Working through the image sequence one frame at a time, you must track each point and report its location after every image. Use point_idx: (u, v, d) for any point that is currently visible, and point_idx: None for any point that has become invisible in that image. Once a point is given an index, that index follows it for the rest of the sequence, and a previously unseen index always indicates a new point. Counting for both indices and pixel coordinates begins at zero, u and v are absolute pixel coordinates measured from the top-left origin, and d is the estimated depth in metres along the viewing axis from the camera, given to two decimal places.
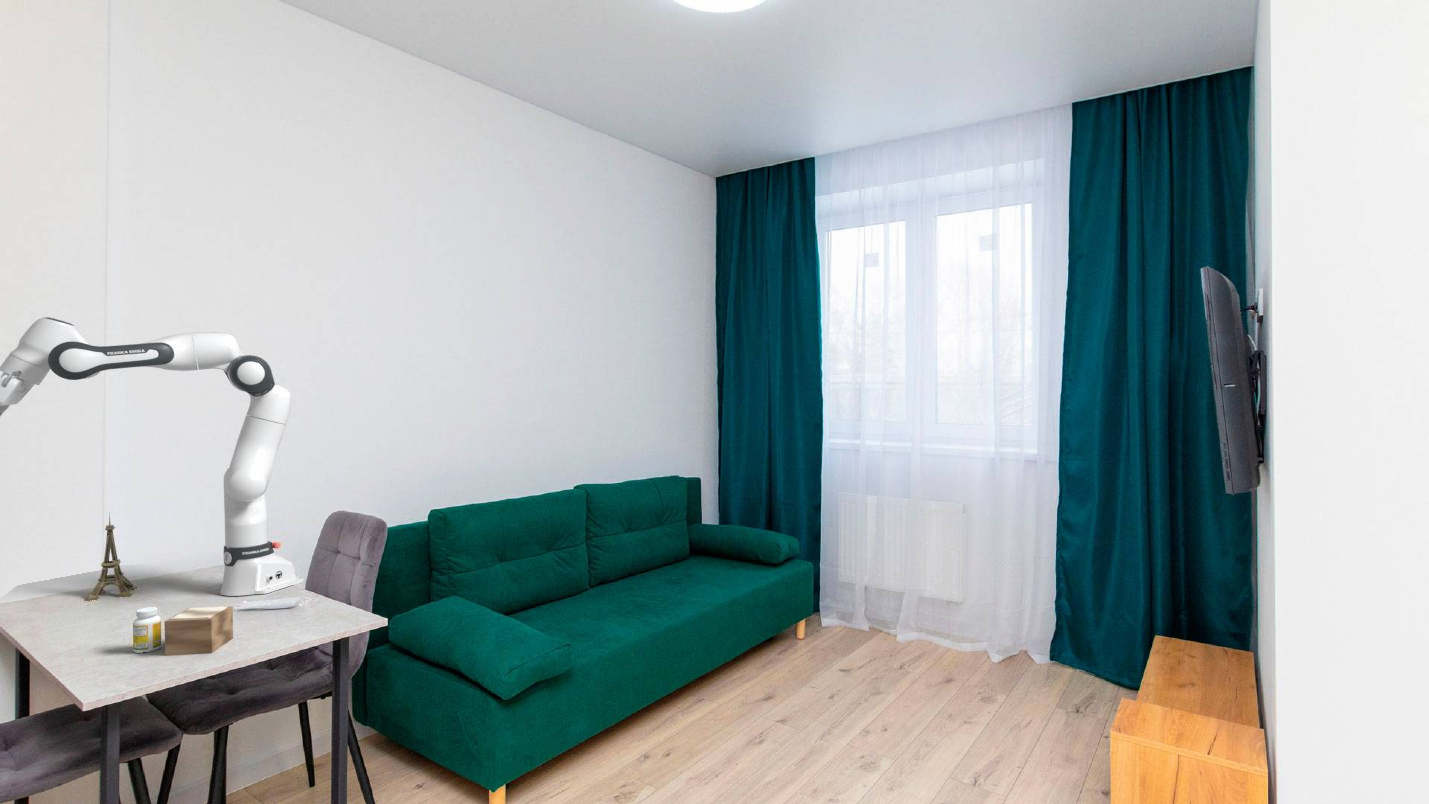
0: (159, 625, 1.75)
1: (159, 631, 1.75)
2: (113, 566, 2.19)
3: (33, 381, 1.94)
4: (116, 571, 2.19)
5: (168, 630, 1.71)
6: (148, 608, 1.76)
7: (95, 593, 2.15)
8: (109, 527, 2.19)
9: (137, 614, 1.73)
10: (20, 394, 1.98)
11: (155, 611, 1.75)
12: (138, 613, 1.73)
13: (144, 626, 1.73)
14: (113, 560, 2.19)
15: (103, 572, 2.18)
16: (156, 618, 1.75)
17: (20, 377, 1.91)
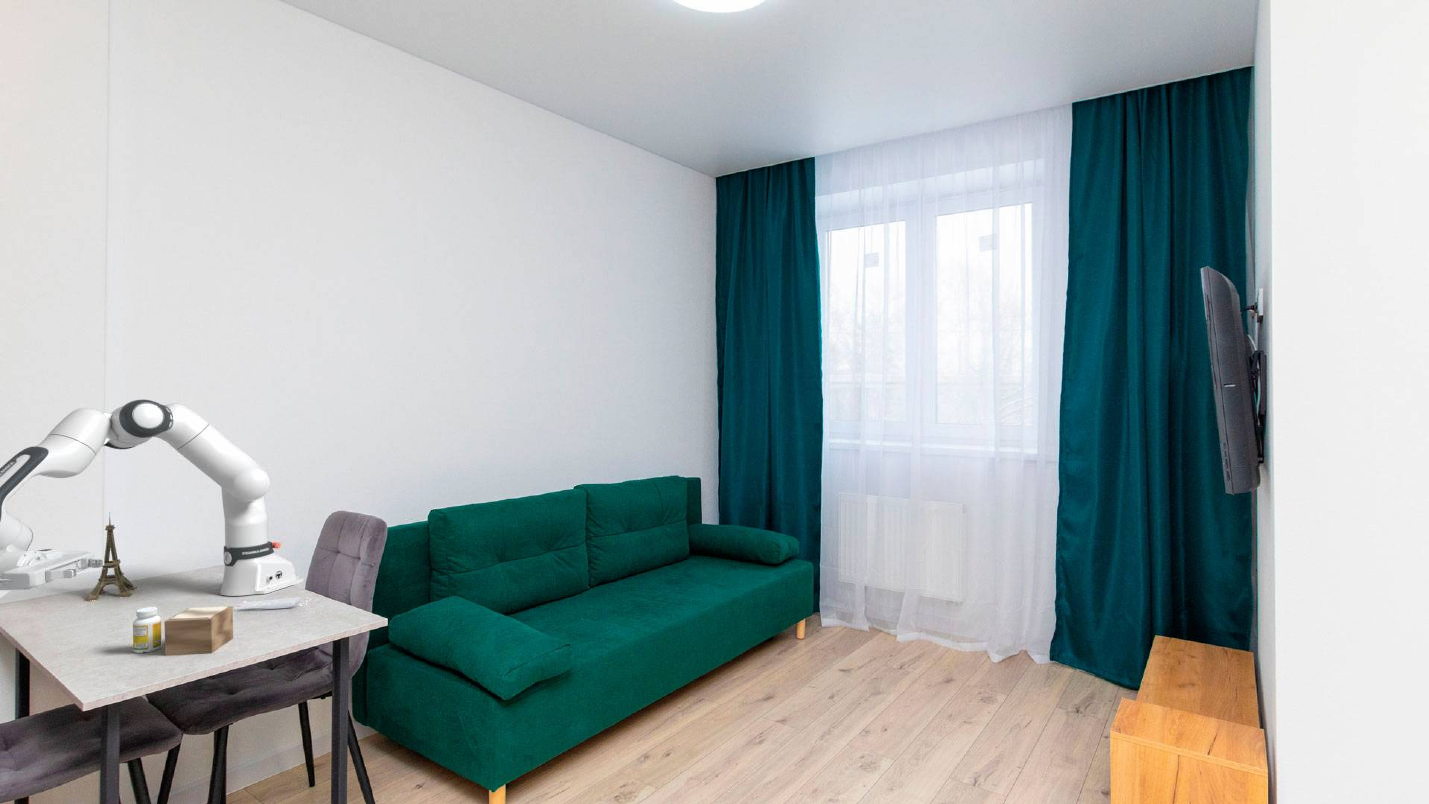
0: (159, 625, 1.75)
1: (159, 631, 1.75)
2: (113, 566, 2.19)
3: (17, 558, 1.68)
4: (116, 571, 2.19)
5: (168, 630, 1.71)
6: (148, 608, 1.76)
7: (95, 593, 2.15)
8: (109, 527, 2.19)
9: (137, 614, 1.73)
10: (64, 557, 1.76)
11: (155, 611, 1.75)
12: (138, 613, 1.73)
13: (144, 626, 1.73)
14: (113, 560, 2.19)
15: (103, 572, 2.18)
16: (156, 618, 1.75)
17: None
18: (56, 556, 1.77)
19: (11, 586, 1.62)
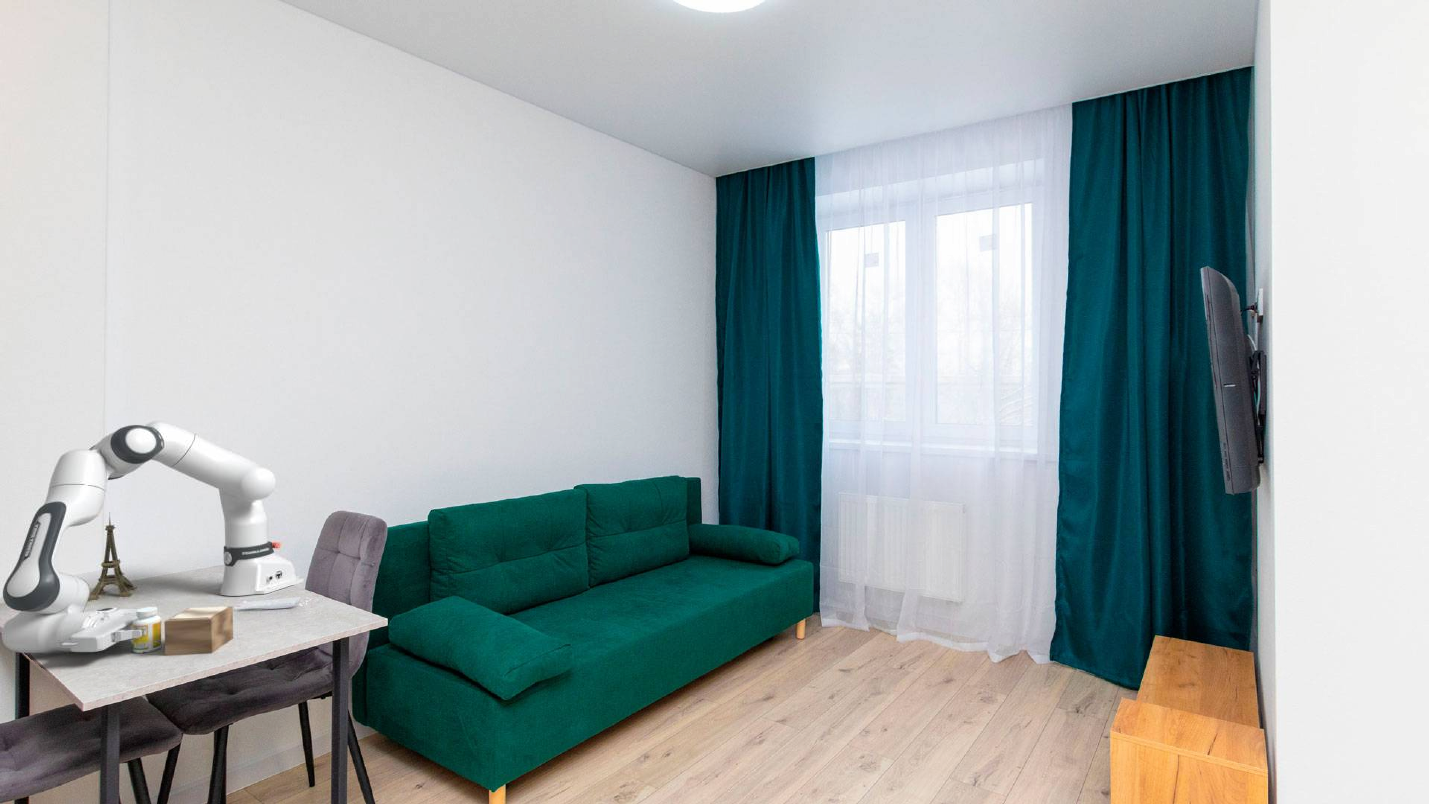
0: (159, 625, 1.75)
1: (159, 631, 1.75)
2: (113, 566, 2.19)
3: (82, 620, 1.70)
4: (116, 571, 2.19)
5: (168, 630, 1.71)
6: (148, 608, 1.76)
7: (95, 593, 2.15)
8: (109, 527, 2.19)
9: (137, 614, 1.73)
10: (126, 616, 1.78)
11: (155, 611, 1.75)
12: (138, 613, 1.73)
13: (144, 626, 1.73)
14: (113, 560, 2.19)
15: (103, 572, 2.18)
16: (156, 618, 1.75)
17: None
18: (118, 614, 1.79)
19: (79, 650, 1.64)
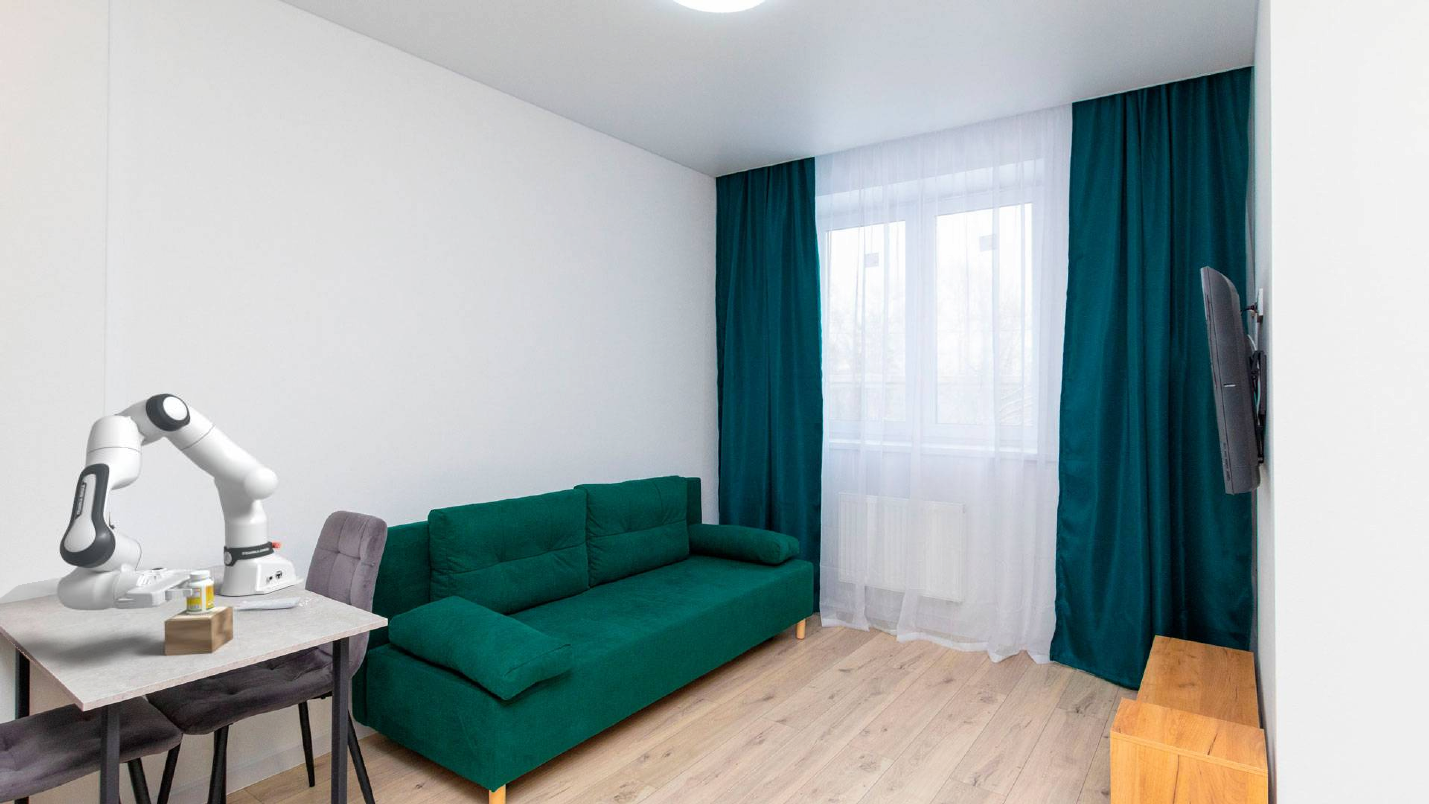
0: (212, 588, 1.77)
1: (212, 594, 1.77)
2: None
3: (136, 578, 1.72)
4: None
5: (168, 630, 1.71)
6: (201, 571, 1.78)
7: None
8: None
9: (190, 576, 1.75)
10: (177, 575, 1.80)
11: (208, 574, 1.77)
12: (192, 575, 1.75)
13: (197, 588, 1.75)
14: None
15: None
16: (209, 581, 1.77)
17: None
18: (168, 574, 1.81)
19: (135, 606, 1.66)
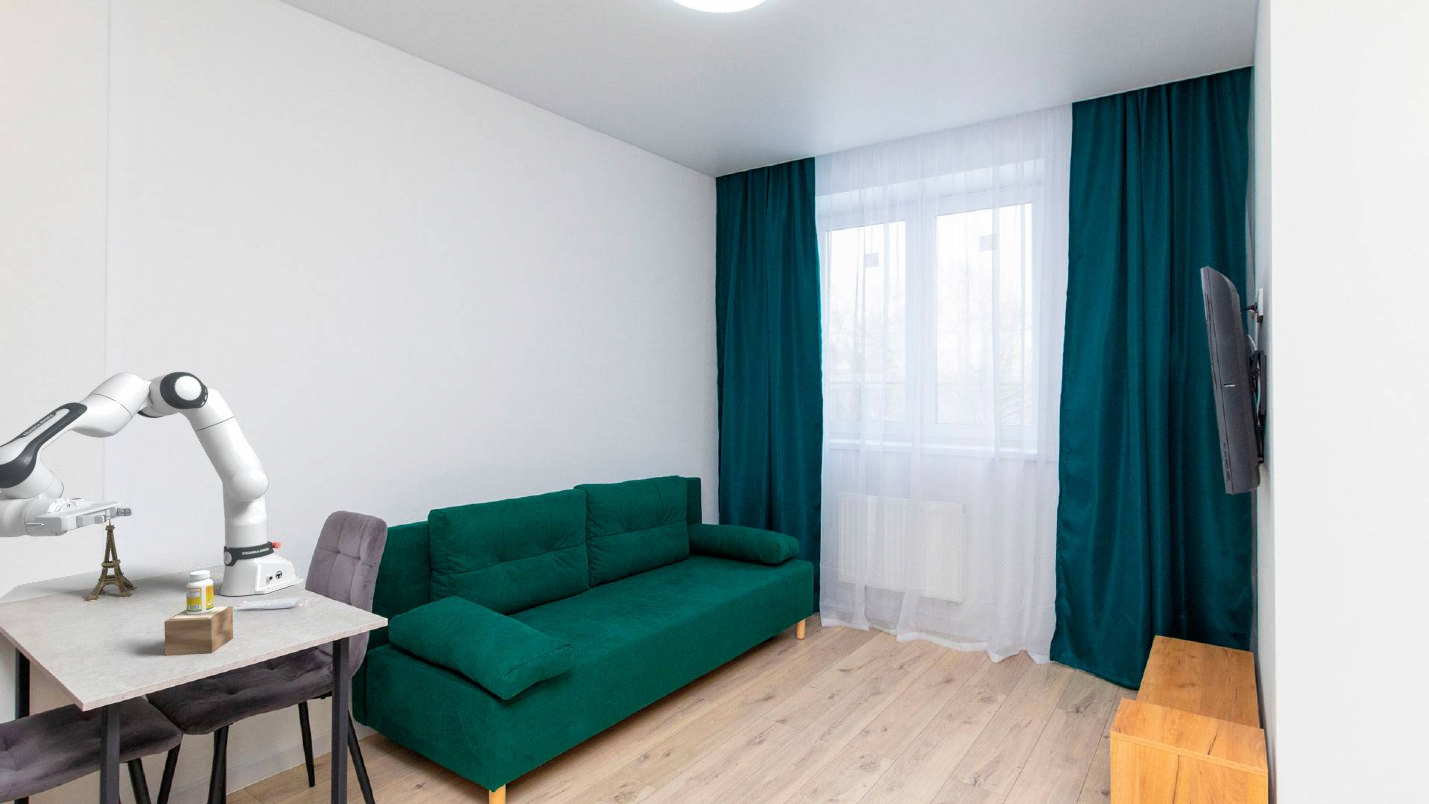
0: (212, 588, 1.77)
1: (212, 594, 1.77)
2: (113, 566, 2.19)
3: (48, 504, 1.70)
4: (116, 571, 2.19)
5: (168, 630, 1.71)
6: (201, 571, 1.78)
7: (95, 593, 2.15)
8: (109, 527, 2.19)
9: (190, 576, 1.75)
10: (93, 505, 1.78)
11: (208, 574, 1.77)
12: (192, 575, 1.75)
13: (197, 588, 1.75)
14: (113, 560, 2.19)
15: (103, 572, 2.18)
16: (209, 581, 1.77)
17: None
18: (85, 504, 1.79)
19: (43, 530, 1.64)
